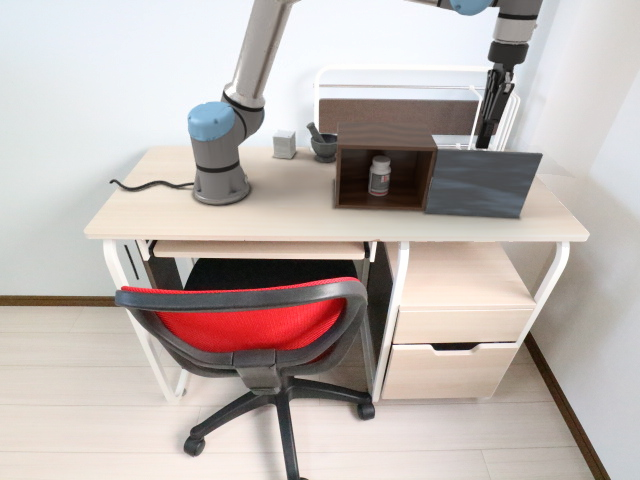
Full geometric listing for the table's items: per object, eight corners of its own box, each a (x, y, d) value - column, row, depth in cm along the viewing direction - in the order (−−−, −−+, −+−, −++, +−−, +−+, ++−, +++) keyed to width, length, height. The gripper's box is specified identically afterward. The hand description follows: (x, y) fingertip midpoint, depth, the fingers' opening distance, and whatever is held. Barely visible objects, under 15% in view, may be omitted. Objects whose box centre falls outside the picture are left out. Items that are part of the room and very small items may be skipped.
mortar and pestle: (340, 153, 131) (342, 118, 124) (339, 165, 124) (341, 129, 117) (308, 151, 132) (307, 117, 125) (305, 163, 125) (304, 127, 117)
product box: (296, 152, 132) (295, 131, 127) (291, 159, 127) (290, 138, 123) (279, 150, 133) (278, 129, 128) (273, 157, 128) (272, 136, 124)
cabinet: (424, 211, 103) (438, 147, 92) (334, 208, 103) (337, 144, 92) (415, 182, 115) (425, 123, 105) (335, 180, 116) (337, 121, 105)
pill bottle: (392, 193, 108) (396, 160, 102) (376, 198, 105) (380, 165, 99) (379, 185, 112) (383, 153, 106) (363, 189, 109) (366, 157, 103)
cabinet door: (422, 201, 106) (434, 140, 96) (511, 205, 105) (533, 144, 95) (425, 213, 101) (439, 150, 91) (518, 218, 100) (543, 154, 90)
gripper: (540, 47, 75) (504, 159, 89) (519, 36, 86) (490, 138, 100) (500, 46, 76) (471, 158, 90) (484, 35, 86) (460, 136, 100)
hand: (481, 147), depth 95 cm, fingers closed
